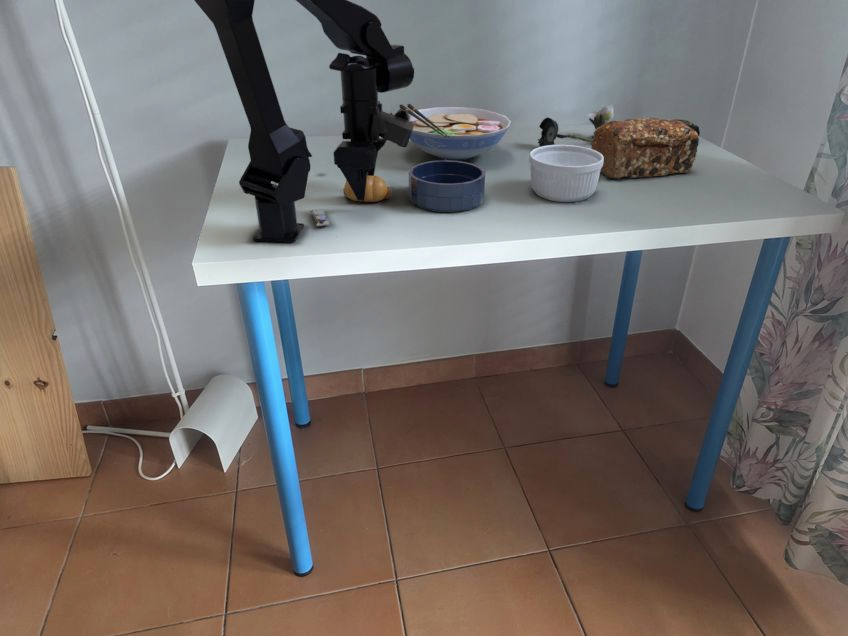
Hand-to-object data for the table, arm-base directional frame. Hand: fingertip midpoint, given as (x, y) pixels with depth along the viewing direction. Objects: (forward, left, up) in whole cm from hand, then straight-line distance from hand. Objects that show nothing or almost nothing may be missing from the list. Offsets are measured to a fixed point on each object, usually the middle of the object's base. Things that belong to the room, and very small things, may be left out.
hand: (365, 190), depth 117 cm
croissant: (0, 0, -2) cm, 2 cm away
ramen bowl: (+28, -14, -2) cm, 31 cm away
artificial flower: (+42, -42, -2) cm, 59 cm away
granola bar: (-10, +6, -2) cm, 12 cm away
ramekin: (+8, -35, -2) cm, 36 cm away
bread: (+23, -52, -2) cm, 57 cm away
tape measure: (+47, -66, -2) cm, 81 cm away
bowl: (+2, -14, -2) cm, 14 cm away
